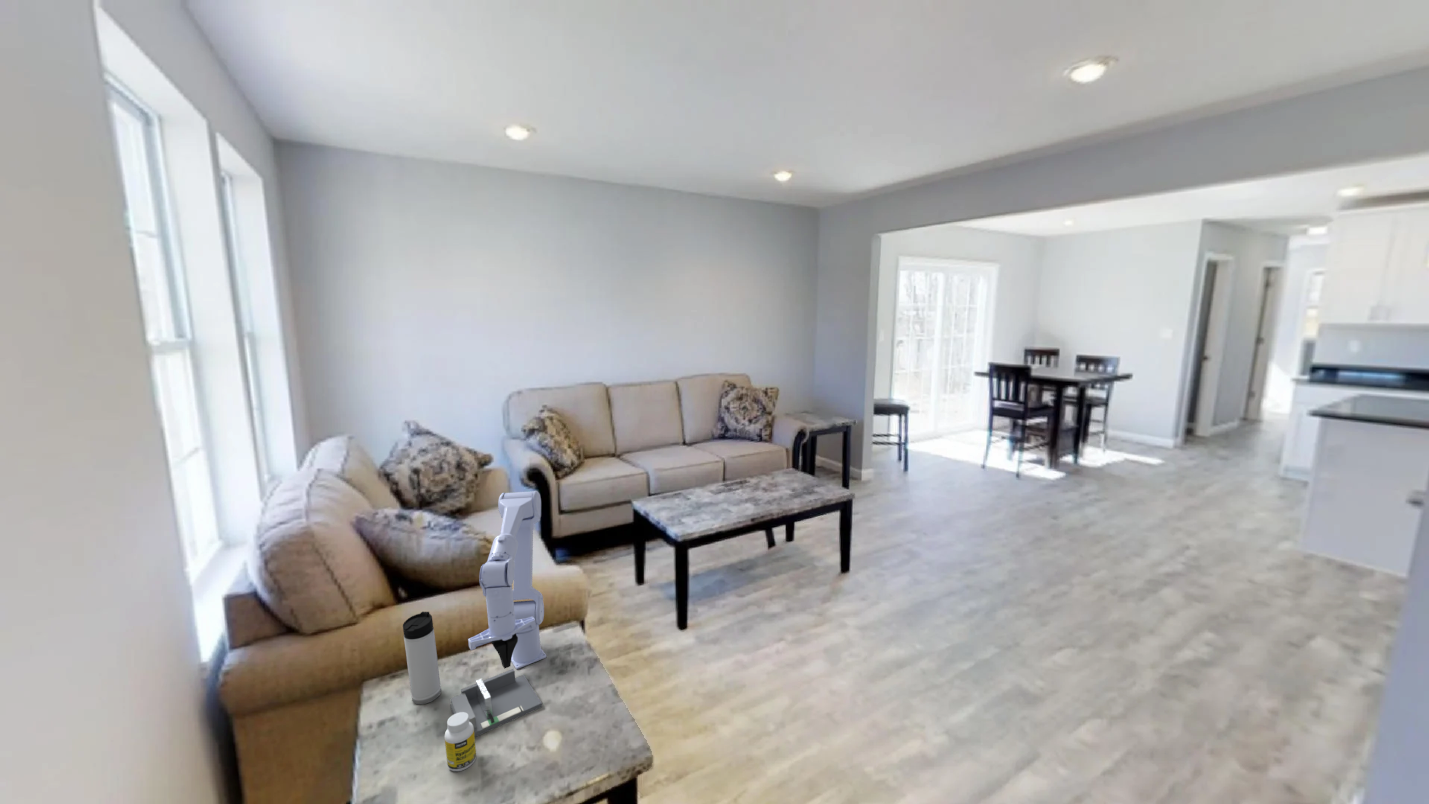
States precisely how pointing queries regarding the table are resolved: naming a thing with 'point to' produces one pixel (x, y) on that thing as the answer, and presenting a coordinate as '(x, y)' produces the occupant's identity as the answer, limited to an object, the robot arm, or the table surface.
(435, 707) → the table surface
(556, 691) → the table surface
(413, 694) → the travel mug
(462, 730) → the supplement bottle
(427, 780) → the table surface
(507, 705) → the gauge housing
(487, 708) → the paddle
